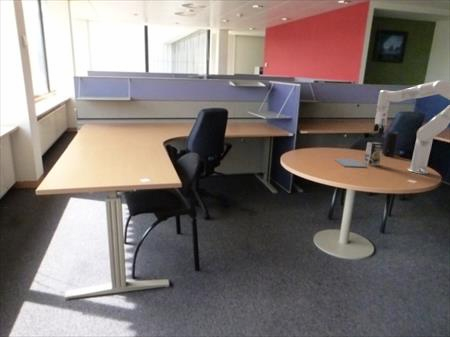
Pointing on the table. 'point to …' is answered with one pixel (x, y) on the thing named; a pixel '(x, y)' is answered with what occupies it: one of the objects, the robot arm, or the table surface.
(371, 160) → the coffee box
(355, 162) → the desk mat
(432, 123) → the robot arm
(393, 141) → the portable speaker
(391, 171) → the table surface
